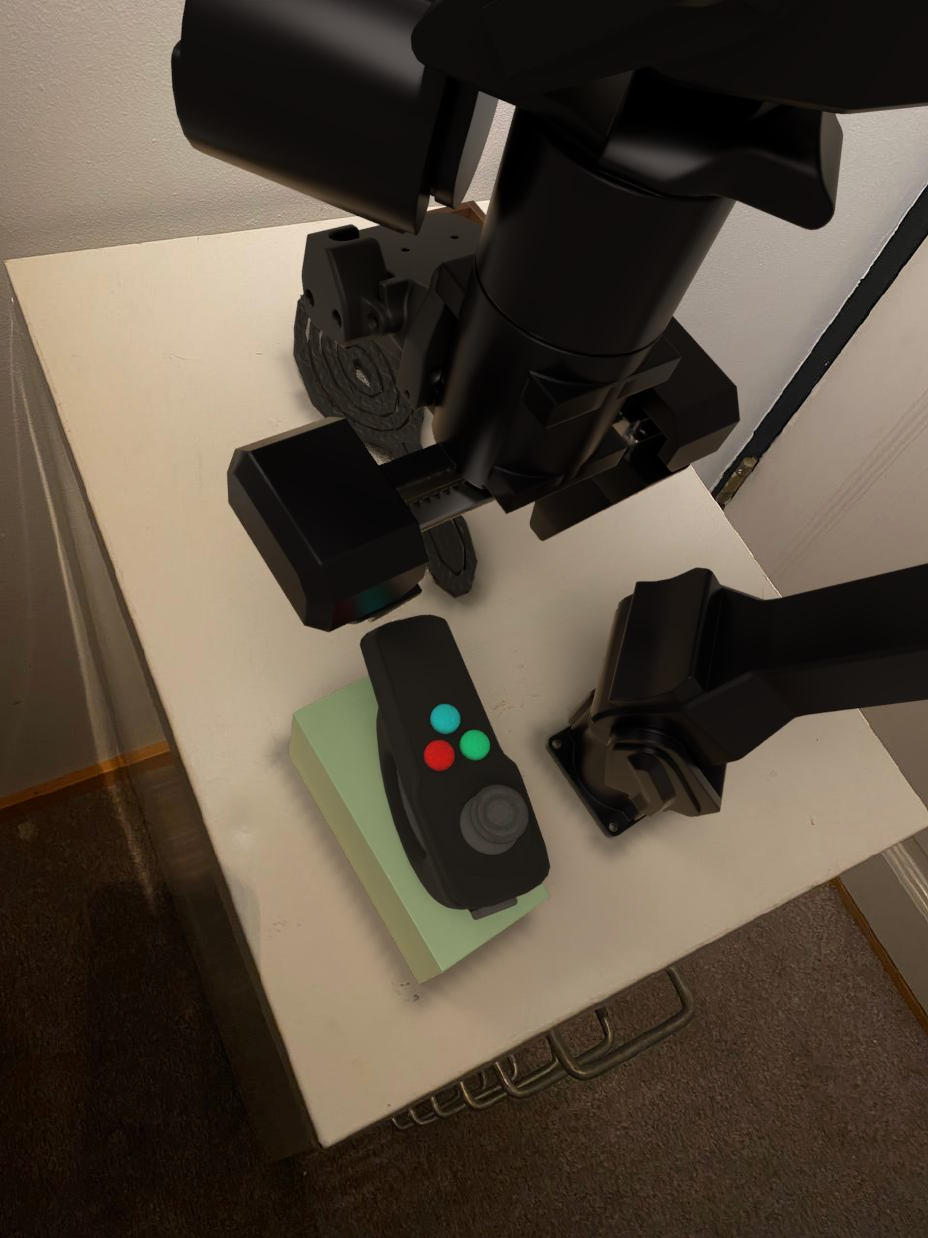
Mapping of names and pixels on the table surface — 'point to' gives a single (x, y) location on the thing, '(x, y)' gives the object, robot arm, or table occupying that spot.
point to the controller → (449, 773)
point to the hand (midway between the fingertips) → (456, 570)
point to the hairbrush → (379, 428)
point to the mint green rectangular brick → (383, 833)
